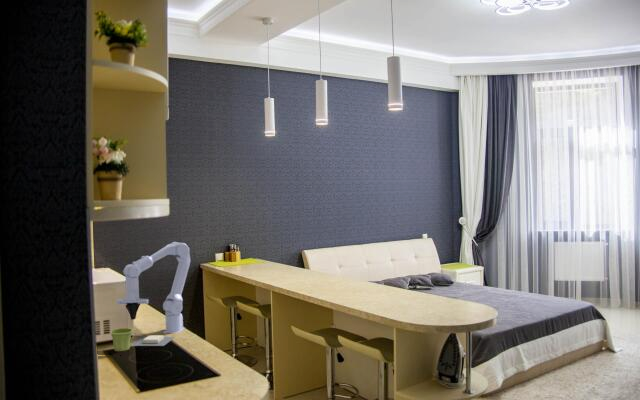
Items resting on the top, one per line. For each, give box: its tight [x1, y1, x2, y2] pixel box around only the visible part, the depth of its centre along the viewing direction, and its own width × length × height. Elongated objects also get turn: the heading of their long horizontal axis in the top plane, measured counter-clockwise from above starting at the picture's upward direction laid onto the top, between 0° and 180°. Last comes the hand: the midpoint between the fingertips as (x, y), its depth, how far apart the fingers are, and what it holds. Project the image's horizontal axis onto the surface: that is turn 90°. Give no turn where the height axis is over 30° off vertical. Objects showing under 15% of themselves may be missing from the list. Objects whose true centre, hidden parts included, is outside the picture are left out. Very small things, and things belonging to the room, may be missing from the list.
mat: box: [130, 336, 176, 347], centre depth 250 cm, size 14×16×1 cm
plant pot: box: [109, 327, 134, 352], centre depth 238 cm, size 9×9×9 cm
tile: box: [143, 334, 165, 343], centre depth 250 cm, size 7×2×7 cm
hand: (133, 319), depth 254 cm, fingers closed
